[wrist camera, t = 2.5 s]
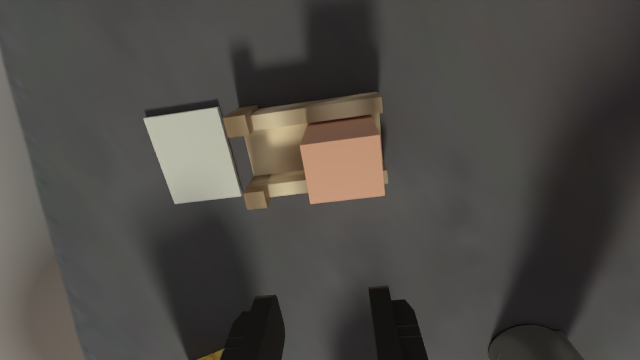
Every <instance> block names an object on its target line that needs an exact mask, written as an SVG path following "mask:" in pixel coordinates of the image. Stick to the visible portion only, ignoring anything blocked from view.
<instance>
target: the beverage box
mask: <svg viewBox="0 0 640 360" xmlns="http://www.w3.org/2000/svg"><path fill="white" fill-rule="evenodd" d="M223 350H224V349H222V350H220V351H217V352H215V353H212V354H210V355H207V356H205V357H202V358H200V359H197V360H220V358H221V355H222V352H223Z"/></svg>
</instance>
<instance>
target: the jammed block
mask: <svg viewBox="0 0 640 360" xmlns="http://www.w3.org/2000/svg"><path fill="white" fill-rule="evenodd" d="M300 150H301V155H302V161H303V166H304V171H305V177H306V182H307V188H308V193H309V199H310V204H315V203H324V202H333V201H342V200H350V199H359V198H368V197H377V196H385V191H384V178H383V166H382V153H381V140H380V134H379V132H378V129H377V127H376V125H375V123H374V121H373V119H372V117H371V115H363V116H356V117H348V118H341V119H334V120H327V121H320V122H312V123H308V124H307V127H306V130H305V132H304V135H303V138H302V141H301V143H300Z"/></svg>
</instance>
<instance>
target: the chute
mask: <svg viewBox="0 0 640 360" xmlns="http://www.w3.org/2000/svg"><path fill="white" fill-rule="evenodd" d="M379 113H383V109H382V97H381V96H380V94H379V93H378V92H377V91H376V92H370V93H363V94H356V95H349V96H342V97H335V98H329V99H322V100H315V101H308V102H301V103H295V104H288V105H281V106H274V107H267V108H260V109H259V108H258V105H253V106H247V107H240V108H238V109H236V110H234V111H233V112H231V113H230V114H228V115H227V116H225V117H224V118H223V121H224V125H225V129H226V132H227V136H228V138H231V137H238V136H244V138H245V142H246V146H247V150H248V154H249V158H250V162H251V166H252V170H253V174H254V177H253V179H252V180H251V182H250V183H249V185H248V187H247V188H246V190H245V191H244V193H243V195H244V199H245V202H246V206H247V210H251V209H260V208H267V207H268V205H269V202H270V200H271V198H272V197H276V196H285V195H293V194H302V193H308V188H307V182H306V177H305V171H304V166H303V161H302V155H301V150H300V143H301V141H302V138H303V135H304V132H305V130H306V127H307V124H308V123H312V122H320V121H327V120H334V119H341V118H348V117H356V116H363V115H371V117H372V119H373V121H374V123H375V125H376V127H377V129H378V132H379V134H380V140H381V129H380V116H379ZM381 153H382V141H381ZM382 166H383V178H384V184H388V177H387V169H386V167H385V164H384V162H383V154H382Z"/></svg>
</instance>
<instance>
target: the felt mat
mask: <svg viewBox="0 0 640 360" xmlns="http://www.w3.org/2000/svg"><path fill="white" fill-rule="evenodd" d="M143 119H144V122H145V125H146V128H147V130H148V133H149V136H150V138H151V141H152V144H153V147H154V149H155V152H156V155H157V157H158V160H159V163H160V165H161V168H162V171H163V174H164V176H165V179H166V182H167V184H168V187H169V190H170V192H171V195H172V198H173V201H174V203H175V204H179V203H188V202H196V201H204V200H213V199H221V198H230V197H238V196H242V194H243V192H242V189H241V185H240V181H239V178H238V174H237V170H236V167H235V163H234V159H233V156H232V152H231V148H230V145H229V141H228V137H227V134H226V130H225V126H224V123H223V119H222V115H221V112H220V108H219V107H213V108H206V109H199V110H192V111H186V112H179V113H172V114H166V115H159V116H152V117H146V118H143Z"/></svg>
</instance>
